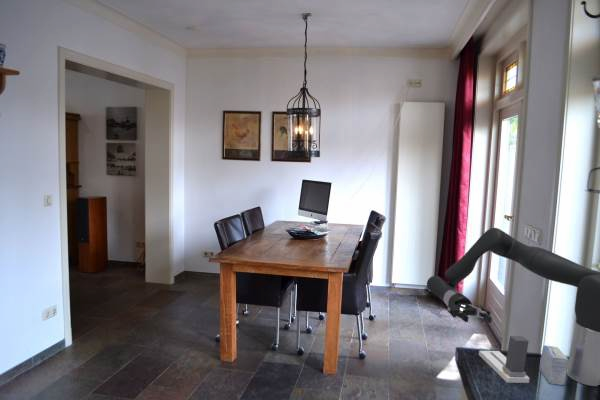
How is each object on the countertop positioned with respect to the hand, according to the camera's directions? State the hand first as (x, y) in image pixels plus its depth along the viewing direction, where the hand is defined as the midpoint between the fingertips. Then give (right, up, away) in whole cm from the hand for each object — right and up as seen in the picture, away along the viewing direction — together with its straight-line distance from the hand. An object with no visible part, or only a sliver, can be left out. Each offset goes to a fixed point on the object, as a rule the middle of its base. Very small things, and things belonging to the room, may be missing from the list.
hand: (478, 320), depth 147 cm
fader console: (+1, -11, -15) cm, 19 cm away
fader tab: (+2, -10, -21) cm, 23 cm away
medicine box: (+14, -13, -18) cm, 27 cm away
